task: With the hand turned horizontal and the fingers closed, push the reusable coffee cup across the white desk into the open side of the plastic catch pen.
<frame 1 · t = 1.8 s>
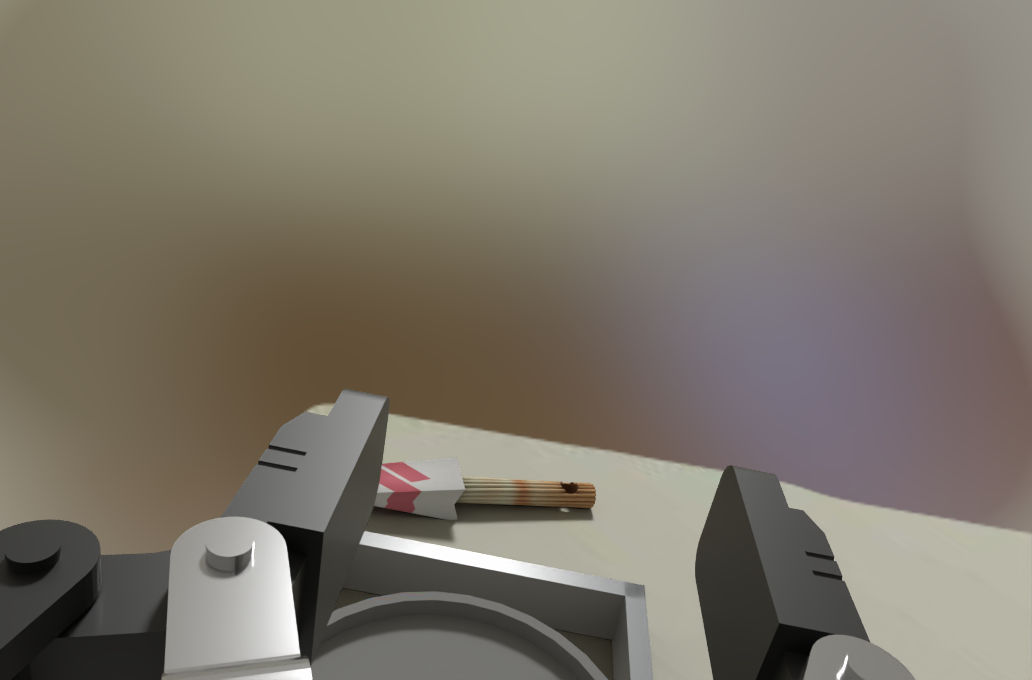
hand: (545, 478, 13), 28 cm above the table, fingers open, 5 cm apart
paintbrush: (457, 506, 58), on the table
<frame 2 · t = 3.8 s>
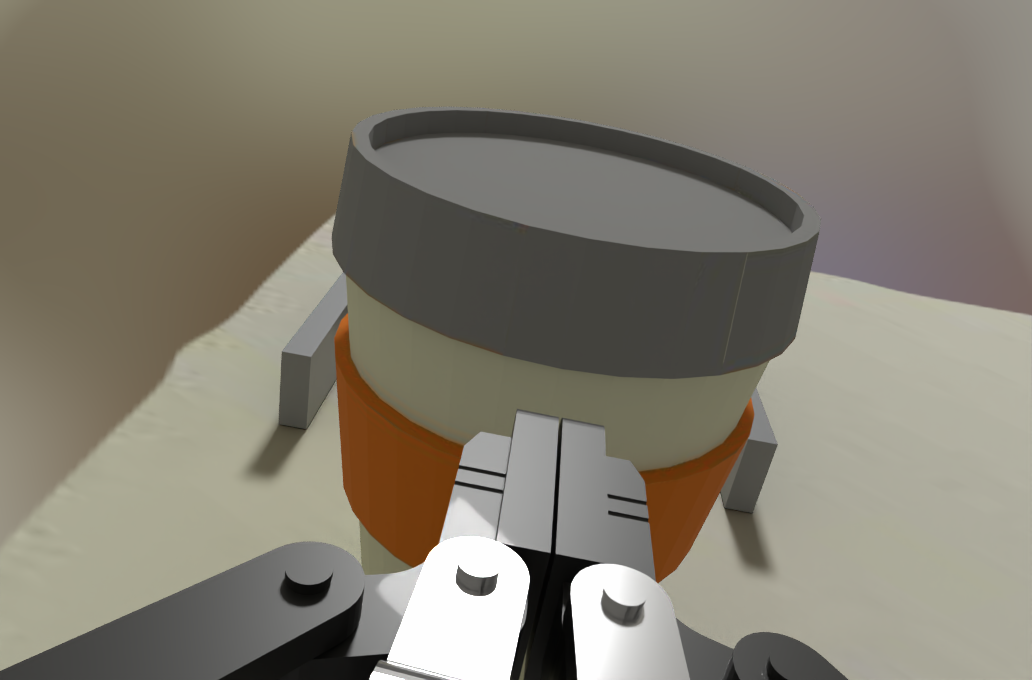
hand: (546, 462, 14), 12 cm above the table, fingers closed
catch pen: (527, 386, 41), on the table
reusable coffee cup: (495, 602, 28), on the table
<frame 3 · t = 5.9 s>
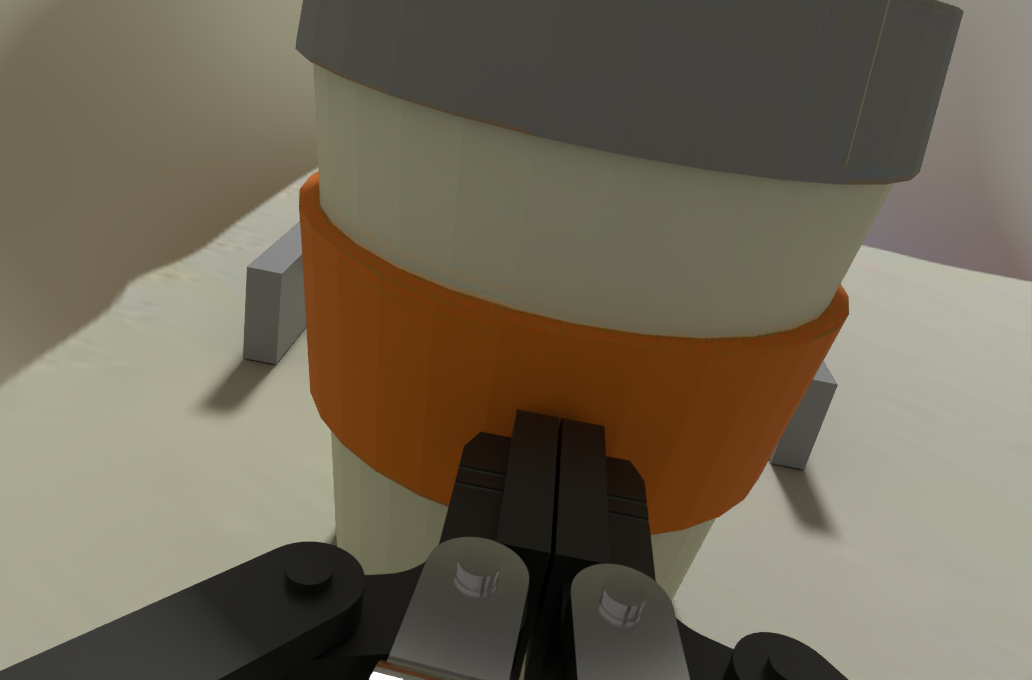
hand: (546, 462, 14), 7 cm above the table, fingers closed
catch pen: (535, 332, 36), on the table
reusable coffee cup: (502, 558, 22), on the table, touching gripper
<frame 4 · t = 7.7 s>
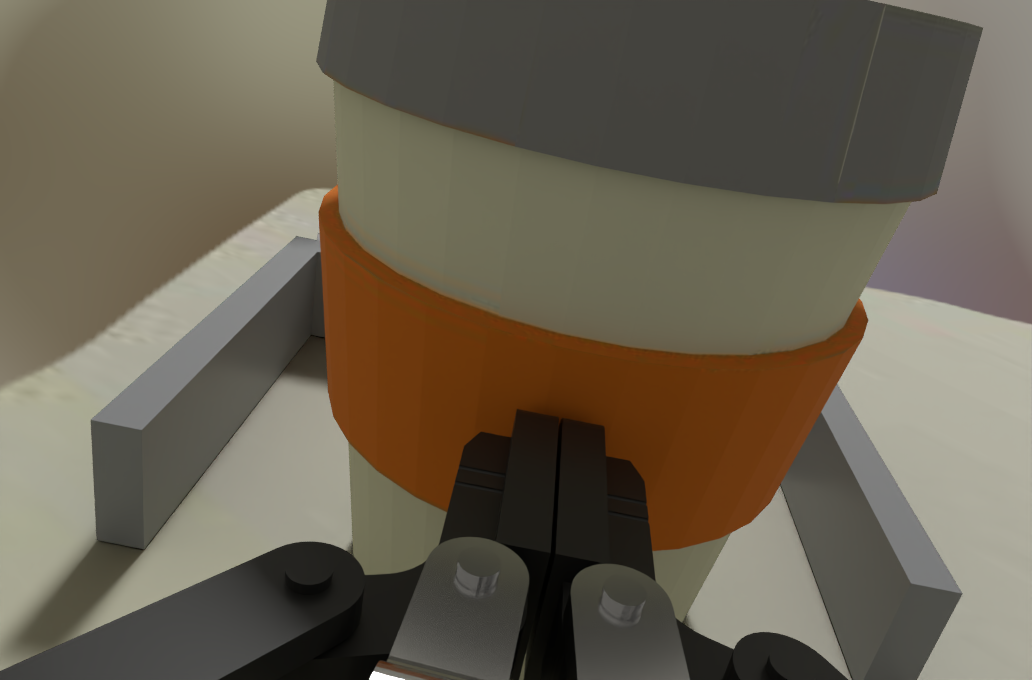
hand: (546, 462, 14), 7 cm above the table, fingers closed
catch pen: (522, 462, 27), on the table
reusable coffee cup: (518, 568, 22), on the table, touching gripper
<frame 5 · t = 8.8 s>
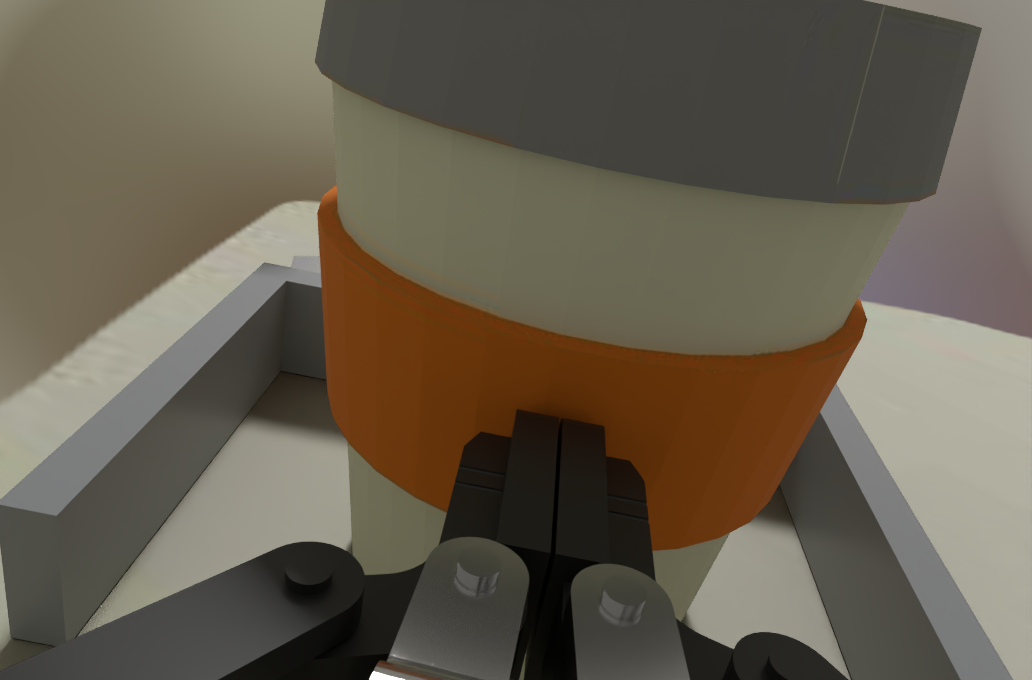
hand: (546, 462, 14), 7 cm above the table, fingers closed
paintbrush: (515, 331, 37), on the table
catch pen: (512, 521, 24), on the table
reusable coffee cup: (517, 567, 22), on the table, touching gripper
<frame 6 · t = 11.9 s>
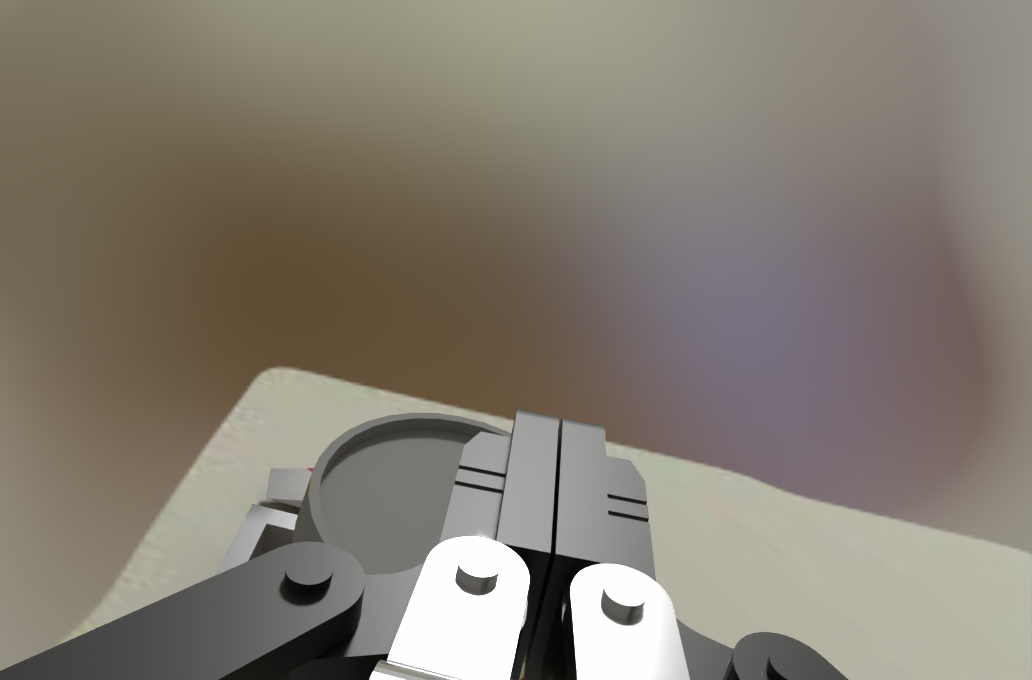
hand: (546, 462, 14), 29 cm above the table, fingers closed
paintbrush: (419, 520, 54), on the table
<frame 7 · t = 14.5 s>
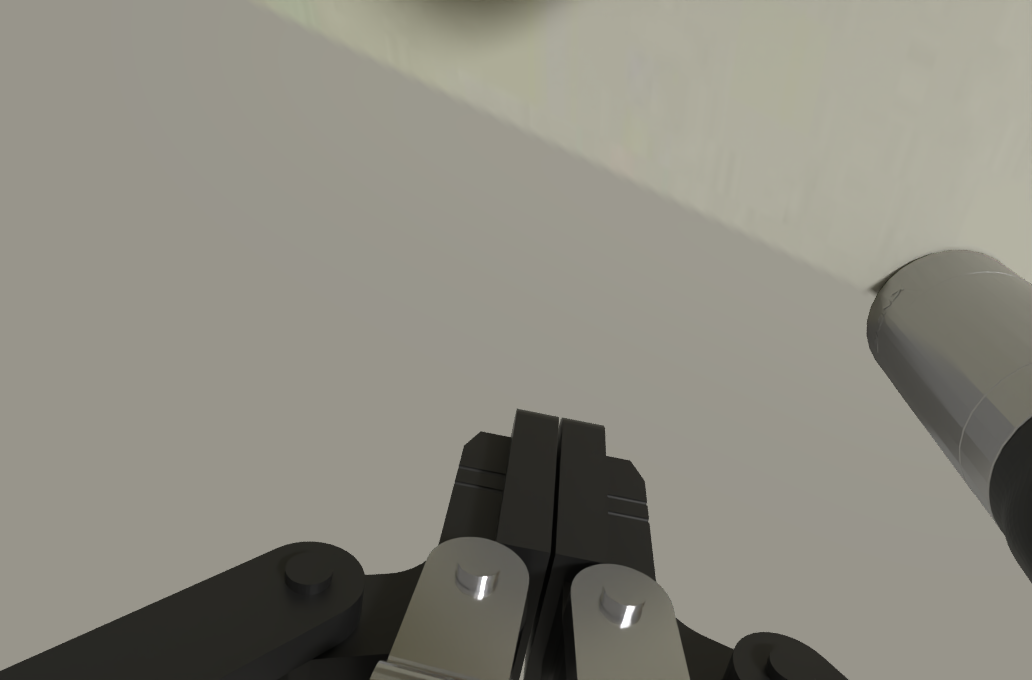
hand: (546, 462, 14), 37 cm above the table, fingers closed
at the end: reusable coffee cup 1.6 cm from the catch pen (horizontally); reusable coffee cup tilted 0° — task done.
